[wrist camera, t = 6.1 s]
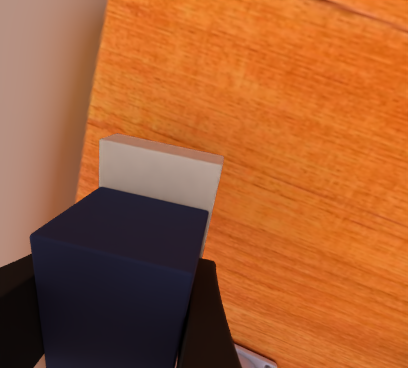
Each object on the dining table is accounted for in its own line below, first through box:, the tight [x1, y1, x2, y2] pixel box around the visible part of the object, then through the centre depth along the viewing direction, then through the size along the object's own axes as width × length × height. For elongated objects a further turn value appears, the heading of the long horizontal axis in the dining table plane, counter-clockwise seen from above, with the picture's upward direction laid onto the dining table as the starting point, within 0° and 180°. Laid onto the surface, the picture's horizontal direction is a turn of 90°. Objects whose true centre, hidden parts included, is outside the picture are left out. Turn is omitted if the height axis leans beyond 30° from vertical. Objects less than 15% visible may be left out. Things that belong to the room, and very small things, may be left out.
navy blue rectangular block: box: [30, 133, 224, 368], centre depth 8 cm, size 9×4×4 cm, turn 170°
